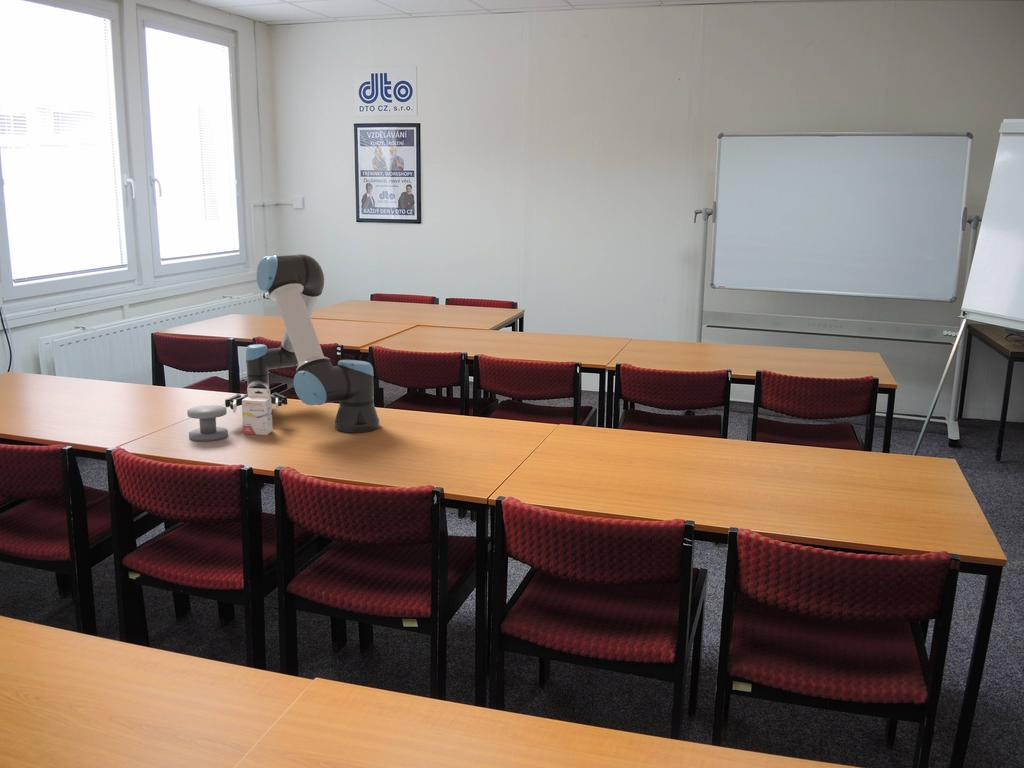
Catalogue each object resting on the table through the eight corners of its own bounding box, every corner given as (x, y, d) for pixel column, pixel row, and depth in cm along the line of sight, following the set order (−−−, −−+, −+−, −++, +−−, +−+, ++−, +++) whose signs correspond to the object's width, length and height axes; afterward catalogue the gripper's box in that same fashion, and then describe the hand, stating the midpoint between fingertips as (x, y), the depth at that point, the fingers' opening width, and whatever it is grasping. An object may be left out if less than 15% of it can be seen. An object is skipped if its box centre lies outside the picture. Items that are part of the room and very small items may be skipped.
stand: (235, 434, 275) (234, 407, 273) (209, 443, 264) (207, 416, 262) (208, 429, 280) (206, 403, 278) (180, 438, 269) (178, 411, 267)
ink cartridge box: (242, 434, 275) (240, 390, 272) (248, 430, 280) (246, 387, 277) (267, 435, 274) (265, 391, 271) (273, 431, 279) (271, 388, 276)
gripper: (294, 401, 300) (294, 416, 280) (221, 405, 294) (216, 420, 274) (293, 381, 299) (294, 394, 279) (220, 384, 292) (215, 398, 272)
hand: (255, 407), depth 276 cm, fingers open, 13 cm apart
